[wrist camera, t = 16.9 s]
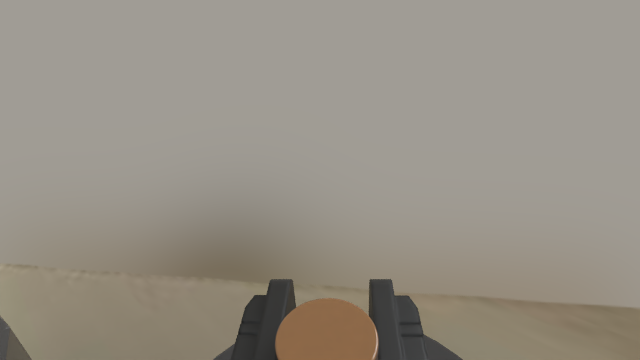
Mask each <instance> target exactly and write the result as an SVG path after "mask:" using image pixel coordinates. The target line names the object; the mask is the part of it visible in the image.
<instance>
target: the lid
mask: <svg viewBox="0 0 640 360" xmlns="http://www.w3.org/2000/svg"><path fill="white" fill-rule="evenodd" d="M423 337H424V339H425V344H426V348H427V353H428V357H429V360H462V359H461V358H460V357H459V356H457V355H456V354H454V353H453V352H452V351H450V350H449V349H447V348H446V347H444V346H443V345H441V344H440V343H438V342H437V341H435V340H433V339H431V338H429V337H427V336H426V335H424V334H423ZM234 346H235V344H234V345H232V346H231V347H229V348H228V349H227V350H225V351H224V352H223V353H221V354H220V355H218V356H217V357H216V358H215V359H213V360H231V356H232V353H233V349H234ZM275 352H276V358H277V360H378V352H379V338H378V333H377V329H376V327H375V325H374V323H373V321H372V320H371V318H370V317H369V316H368V315H367V314H366V313H365V312H364V311H363V310H362V309H361V308H359V307H358V306H356V305H354V304H352V303H350V302H347V301H344V300H340V299H334V298H322V299H316V300H312V301H308V302H306V303H304V304H301V305H300V306H298V307H296V308H295V309H293V310H292V311H291V312H290V313H289V314H288V315H287V316H286V317H285V318H284V319H283V321H282V322H281V324H280V326H279V328H278V330H277V334H276V338H275Z"/></svg>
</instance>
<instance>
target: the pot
mask: <svg viewBox="0 0 640 360" xmlns="http://www.w3.org/2000/svg"><path fill="white" fill-rule="evenodd" d="M0 360H32V359H31V358H30V356H29V355H28V353H27V352H26V350H25V349H24V347H23V346H22V344H21V343H20V342H19V340H18V339H17V337H16V336H15V334H14V333H13V331H12V330H11V328H10V327H9V326H8V324H7V323H6V322H5V321H4V320H3V318H2V317H1V316H0Z"/></svg>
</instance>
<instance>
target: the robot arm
mask: <svg viewBox="0 0 640 360" xmlns="http://www.w3.org/2000/svg"><path fill="white" fill-rule="evenodd" d="M369 284H370V285H369V317H370V318H371V320H372V321H373V323H374V325H375V327H376V329H377V333H378V338H379V352H378V360H429V357H428V353H427V348H426V344H425V339H424V337H423V330H422V326H421V321H420V317H419V313H418V308H417V307H416V305H415V304H414V303H413V301H412V300H411V299H410V297H409V296H394V290H393V285H392V280H391V279H381V280H380V279H373V280H372V279H371V280H370V282H369ZM295 308H296V304H295V295H294V287H293V281H292V280H291V279H278V280H277V279H274V280H273V279H272V280H270V283H269V287H268V291H267V295H255V296H254V297H253V298H252V300H251V301H250V302H249V303H248V305H247V306H246V307H245V310H244V314H243V317H242V323H241V324H240V328H239V331H238V335H237V338H236V342H235V346H234V349H233V353H232V356H231V360H277V358H276V352H275V338H276V334H277V330H278V328H279V326H280V324H281V322H282V321H283V319H284V318H285V317H286V316H287V315H288V314H289V313H290V312H291V311H292V310H293V309H295Z"/></svg>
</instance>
